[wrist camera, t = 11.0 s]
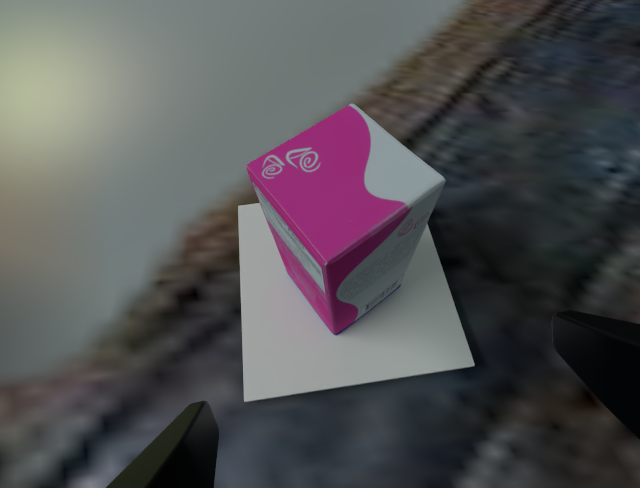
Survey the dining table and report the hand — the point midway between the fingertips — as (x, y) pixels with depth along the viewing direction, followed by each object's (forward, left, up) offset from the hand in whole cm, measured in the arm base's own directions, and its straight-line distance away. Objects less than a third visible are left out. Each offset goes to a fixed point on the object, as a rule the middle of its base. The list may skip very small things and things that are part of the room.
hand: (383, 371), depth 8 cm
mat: (+7, -1, -13) cm, 15 cm away
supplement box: (+7, -1, -13) cm, 15 cm away
